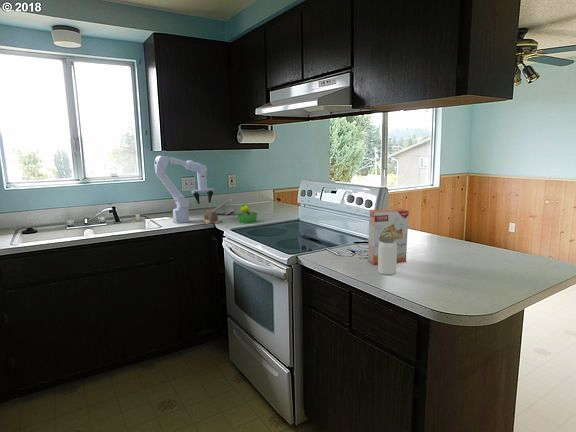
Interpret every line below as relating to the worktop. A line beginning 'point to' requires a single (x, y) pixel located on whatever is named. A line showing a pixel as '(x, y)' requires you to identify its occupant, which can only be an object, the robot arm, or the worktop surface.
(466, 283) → the worktop surface
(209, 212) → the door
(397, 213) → the cracker box
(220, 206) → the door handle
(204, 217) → the beige irregular piece
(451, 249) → the worktop surface
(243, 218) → the fruit basket
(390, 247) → the can
